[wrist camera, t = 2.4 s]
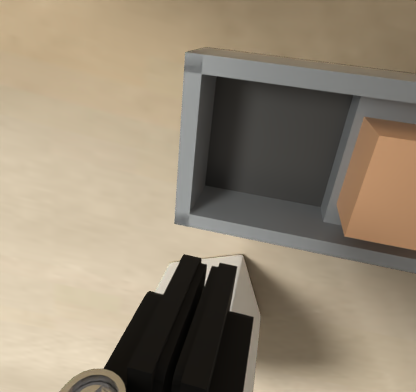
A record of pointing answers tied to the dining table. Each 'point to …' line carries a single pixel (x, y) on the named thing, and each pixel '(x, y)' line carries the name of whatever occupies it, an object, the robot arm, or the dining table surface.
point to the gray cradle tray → (281, 148)
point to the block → (381, 185)
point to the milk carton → (232, 303)
